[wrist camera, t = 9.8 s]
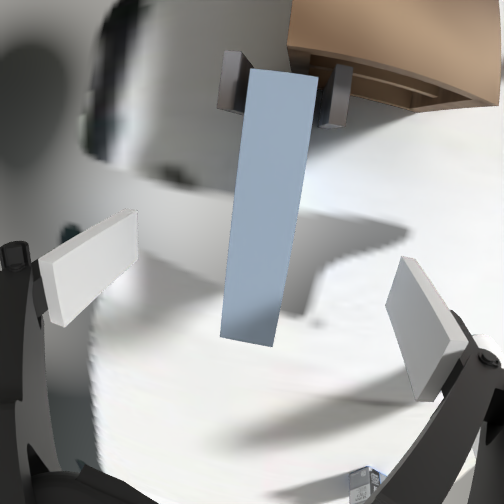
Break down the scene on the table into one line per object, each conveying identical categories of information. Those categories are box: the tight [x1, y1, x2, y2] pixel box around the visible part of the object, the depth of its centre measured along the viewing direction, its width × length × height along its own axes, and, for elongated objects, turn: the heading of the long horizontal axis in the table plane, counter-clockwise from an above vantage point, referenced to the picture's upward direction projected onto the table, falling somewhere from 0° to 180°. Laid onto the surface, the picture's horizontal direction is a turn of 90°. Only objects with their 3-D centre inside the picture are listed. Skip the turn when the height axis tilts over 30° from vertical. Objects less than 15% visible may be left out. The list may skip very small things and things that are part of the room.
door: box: [220, 68, 318, 347], centre depth 20 cm, size 14×3×11 cm, turn 173°
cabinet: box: [217, 0, 501, 129], centre depth 14 cm, size 17×13×12 cm
